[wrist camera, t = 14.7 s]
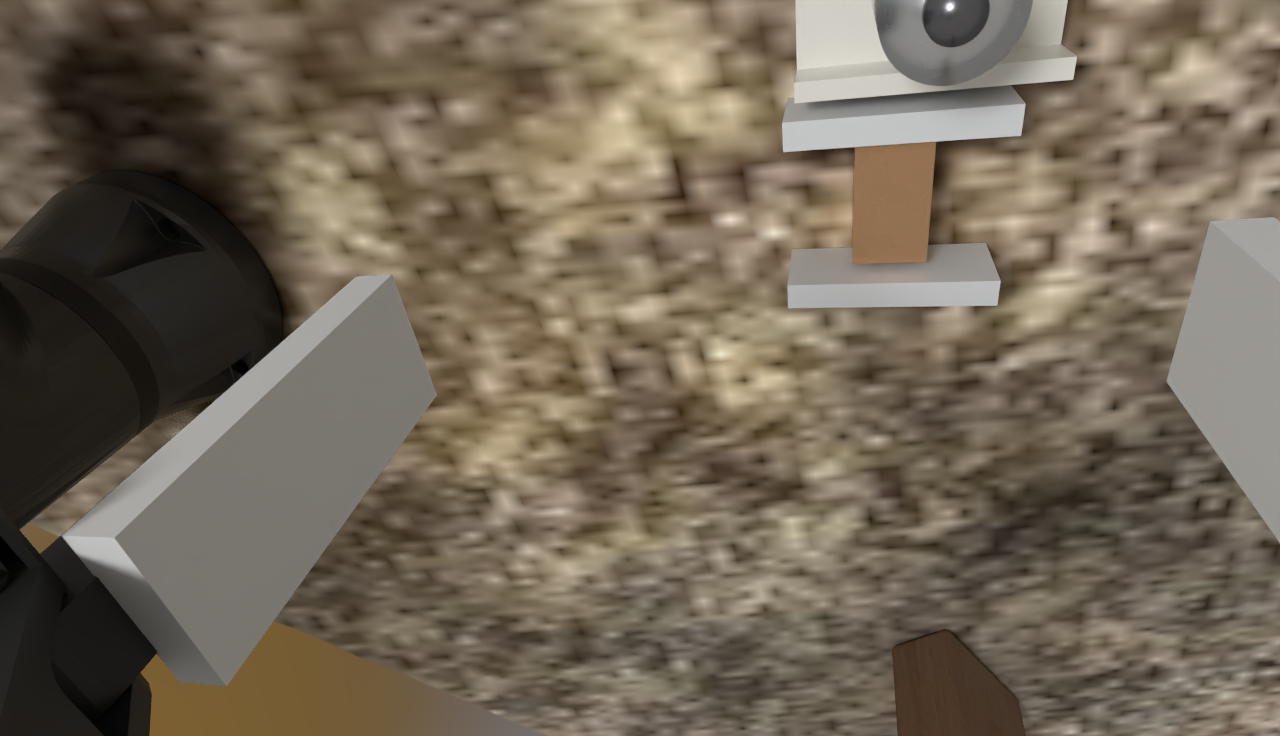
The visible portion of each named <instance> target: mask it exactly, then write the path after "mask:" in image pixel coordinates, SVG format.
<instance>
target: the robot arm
mask: <svg viewBox="0 0 1280 736" xmlns="http://www.w3.org/2000/svg"><path fill="white" fill-rule="evenodd" d="M281 337H282V314H281V309H280V304H279V300H278V297H277V294H276V291H275V288H274V286H273V283H272V281H271V279H270V277H269V275H268V273H267V271H266V269H265V268H264V266H263V264H262V262H261V261H260V259H259V258H258V256H257V255H256V253H255V252H254V250H253V249H252V248H251V246H250V245H249V244H248V243H247V241H246V240H245V239H244V238H243V237H242V235H241V234H240V233H239V232H238V231H237V230H236V229H235V228H234V227H233V226H232V225H231V224H230V223H229V222H228V221H227V220H226V219H225V218H224V217H223V216H222V215H221V214H220V213H218V212H217V211H216V210H215V209H214V208H212V207H211V206H210V205H208V204H207V203H206V202H204V201H203V200H202V199H200V198H199V197H197V196H195V195H194V194H192V193H191V192H189V191H187V190H186V189H184V188H182V187H180V186H178V185H176V184H174V183H172V182H169V181H167V180H165V179H162V178H159V177H157V176H153V175H150V174H146V173H142V172H136V171H126V170H117V171H108V172H104V173H100V174H98V175H95V176H93V177H90V178H88V179H85V180H83V181H80V182H78V183H75V184H73V185H70V186H68V187H67V188H65V189H63V190H62V191H60V192H59V193H57V194H56V195H54V196H53V197H52V198H51V199H50V200H49V201H48V202H47V203H46V204H45V205H44V206H43V207H42V208H41V209H40V210H39V211H38V212H37V213H36V214H35V215H34V216H33V217H32V218H31V219H30V220H29V221H28V222H27V224H26V225H25V226H24V227H23V228H22V229H21V230H20V231H19V232H18V233H17V234H16V235H15V236H14V237H13V238H12V239H11V240H10V241H9V242H8V243H7V244H6V245H5V246H4V247H3V248H2V249H1V250H0V736H149V731H150V714H151V697H152V695H151V690H150V687H149V683H148V682H147V681H146V679H145V678H144V677H143V676H142V674H141V673H140V672H141V671H142V670H143V669H144V668H145V666H146V665H147V664H148V663H149V662H150V660H151V659H152V658H153V657H154V656H155V655H156V653H157V655H158V656H159V657H160V658H161V660H162V661H163V662H164V663H165V665H166V666H167V667H168V668H169V669H170V671H171V672H172V673H173V674H174V676H175V677H176V678H177V679H178V681H179V682H188V683H199V684H208V685H218V686H227V685H228V683H229V682H230V681H231V679H232V678H233V676H234V675H235V674H236V672H237V671H238V670H239V668H240V667H241V665H242V664H243V663H244V661H245V660H246V658H247V657H248V656H249V654H250V653H251V652H252V650H253V649H254V647H255V646H256V645H257V643H258V642H259V641H260V639H261V638H262V636H263V635H264V634H265V632H266V631H267V629H268V628H269V627H270V625H271V624H272V623H273V621H274V620H275V618H276V617H277V616H278V614H279V613H280V611H281V610H282V609H283V607H284V606H285V605H286V603H287V602H288V600H289V599H290V598H291V596H292V595H293V593H294V592H295V591H296V589H297V588H298V587H299V585H300V584H301V582H302V581H303V580H304V578H305V577H306V576H307V574H308V573H309V571H310V570H311V569H312V567H313V566H314V564H315V563H316V562H317V560H318V559H319V558H320V556H321V555H322V553H323V552H324V551H325V549H326V548H327V546H328V545H329V544H330V542H331V541H332V540H333V538H334V537H335V535H336V534H337V533H338V531H339V530H340V528H341V527H342V526H343V524H344V523H345V522H346V520H347V519H348V517H349V516H350V515H351V513H352V512H353V510H354V509H355V508H356V506H357V505H358V504H359V502H360V501H361V499H362V498H363V497H364V495H365V494H366V492H367V491H368V490H369V488H370V487H371V486H372V484H373V483H374V481H375V480H376V479H377V477H378V476H379V474H380V473H381V472H382V470H383V469H384V468H385V466H386V465H387V463H388V462H389V461H390V459H391V458H392V456H393V455H394V454H395V452H396V451H397V450H398V448H399V447H400V445H401V444H402V443H403V441H404V440H405V438H406V437H407V436H408V434H409V433H410V432H411V430H412V429H413V427H414V426H415V425H416V423H417V422H418V420H419V419H420V418H421V416H422V415H423V414H424V412H425V411H426V409H427V408H428V407H429V405H430V404H431V402H432V401H433V400H434V398H435V397H436V396H437V394H436V391H435V389H434V386H433V383H432V380H431V378H430V375H429V372H428V370H427V367H426V364H425V362H424V359H423V356H422V354H421V351H420V348H419V346H418V343H417V340H416V337H415V335H414V332H413V329H412V327H411V324H410V321H409V319H408V316H407V313H406V311H405V308H404V305H403V303H402V300H401V297H400V295H399V292H398V289H397V286H396V284H395V281H394V278H393V276H392V274H390V275H374V276H359V277H355V278H354V279H353V280H352V281H351V282H350V283H348V284H347V285H346V286H345V287H344V288H343V289H342V290H340V291H339V292H338V293H337V294H336V295H335V296H334V297H332V298H331V299H330V300H329V301H328V302H327V303H326V304H324V305H323V306H322V307H321V308H320V309H319V310H318V311H317V312H315V313H314V314H313V315H312V316H311V317H310V318H309V319H307V320H306V321H305V322H304V323H303V324H302V325H301V326H299V327H298V328H297V329H296V330H295V331H294V332H293V333H291V334H290V335H289V336H288V337H287V338H286V339H285V340H284V341H282V342H281ZM280 342H281V343H280ZM1167 383H1168V385H1169V386H1170V387H1171V389H1172V390H1173V392H1174V393H1175V395H1176V396H1177V397H1178V399H1179V400H1180V402H1181V403H1182V405H1183V406H1184V407H1185V409H1186V410H1187V412H1188V413H1189V414H1190V416H1191V417H1192V419H1193V420H1194V422H1195V423H1196V424H1197V426H1198V427H1199V429H1200V430H1201V432H1202V433H1203V434H1204V436H1205V437H1206V439H1207V440H1208V442H1209V443H1210V444H1211V446H1212V447H1213V449H1214V450H1215V452H1216V453H1217V454H1218V456H1219V457H1220V459H1221V460H1222V462H1223V463H1224V464H1225V466H1226V467H1227V469H1228V470H1229V471H1230V473H1231V474H1232V476H1233V477H1234V479H1235V480H1236V481H1237V483H1238V484H1239V486H1240V487H1241V489H1242V490H1243V491H1244V493H1245V494H1246V496H1247V497H1248V499H1249V500H1250V501H1251V503H1252V504H1253V506H1254V507H1255V509H1256V510H1257V511H1258V513H1259V514H1260V516H1261V517H1262V518H1263V520H1264V521H1265V523H1266V524H1267V526H1268V527H1269V528H1270V530H1271V531H1272V533H1273V534H1274V536H1275V537H1276V538H1277V540H1278V541H1279V543H1280V221H1279V220H1277V219H1276V218H1275V217H1271V218H1255V219H1240V220H1224V221H1210V225H1209V228H1208V232H1207V236H1206V239H1205V243H1204V247H1203V250H1202V254H1201V257H1200V261H1199V265H1198V268H1197V272H1196V276H1195V279H1194V283H1193V287H1192V290H1191V294H1190V298H1189V301H1188V305H1187V309H1186V312H1185V316H1184V319H1183V323H1182V327H1181V330H1180V334H1179V338H1178V341H1177V345H1176V349H1175V352H1174V356H1173V360H1172V363H1171V367H1170V371H1169V374H1168V378H1167ZM217 397H219V398H218V399H216V400H215V401H214V402H213V403H212V404H211V405H210V406H208V407H207V408H206V409H205V410H204V411H203V412H202V413H200V414H199V415H198V416H197V417H196V418H195V419H194V420H193V421H191V422H190V423H189V424H188V425H187V426H186V427H185V428H183V429H182V430H181V431H180V432H179V433H178V434H177V435H175V436H174V437H173V438H172V439H171V440H169V441H168V442H167V443H166V444H165V445H164V446H163V447H161V448H160V449H159V450H158V451H157V452H156V453H155V454H153V455H152V456H151V457H150V458H149V459H148V460H147V461H146V462H145V463H144V464H142V465H141V466H140V467H139V468H137V469H136V470H135V471H134V472H133V473H132V474H131V475H130V476H128V477H127V478H126V479H125V480H124V481H123V482H122V483H120V484H119V485H118V486H117V487H116V488H115V489H114V490H112V491H111V492H110V493H109V494H108V495H107V496H106V497H104V498H103V499H102V500H101V501H100V502H99V503H98V504H97V505H95V506H94V507H93V508H92V509H91V510H90V511H89V512H87V513H86V514H85V515H84V516H83V517H82V518H81V519H79V520H78V521H77V522H76V523H75V524H74V525H73V526H71V527H70V528H69V529H68V530H67V531H66V532H65V533H64V534H62V535H61V536H60V537H59V538H58V539H57V540H56V541H55V542H53V543H52V544H51V545H50V546H49V547H48V548H47V549H46V550H44V551H43V552H42V553H41V554H39V553H38V551H37V550H36V549H35V548H34V547H33V546H32V545H31V543H30V542H29V541H28V540H27V538H26V537H25V536H24V535H23V534H22V533H21V531H20V529H21V528H22V527H24V526H25V525H26V524H27V523H29V522H30V521H31V520H32V519H34V518H35V517H36V516H37V515H39V514H40V513H41V512H42V511H44V510H45V509H46V508H47V507H48V506H50V505H51V504H52V503H53V502H55V501H56V500H57V499H58V498H60V497H61V496H62V495H63V494H65V493H66V492H67V491H68V490H70V489H71V488H72V487H73V486H74V485H76V484H77V483H78V482H79V481H81V480H82V479H83V478H84V477H86V476H87V475H88V474H89V473H91V472H92V471H93V470H94V469H96V468H97V467H98V466H99V465H100V464H102V463H103V462H104V461H105V460H107V459H108V458H109V457H110V456H112V455H113V454H114V453H115V452H117V451H118V450H119V449H120V448H122V447H123V446H124V445H125V444H127V443H128V442H129V441H130V440H131V439H132V438H134V437H135V436H136V435H137V434H139V433H140V432H141V431H142V430H144V429H145V428H146V427H148V426H149V425H150V424H152V423H153V422H154V421H156V420H157V419H160V418H163V417H165V416H168V415H171V414H174V413H176V412H179V411H182V410H184V409H187V408H190V407H193V406H195V405H198V404H201V403H203V402H206V401H209V400H212V399H214V398H217Z"/></svg>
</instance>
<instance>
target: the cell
mask: <svg viewBox="0 0 1280 736" xmlns="http://www.w3.org/2000/svg"><path fill="white" fill-rule="evenodd" d="M1032 4H1033V0H871V5H872V9H873V13H874V18H875V22H876V26H877V31H878V35H879V39H880V43H881V46H882V48H883V51H884V53H885V55H886V56H887V58H888V60H889V61H890V62H891V64H892V65H893V66H894V67H895V68H896V69H897V70H898V71H899V72H900V73H901V74H903V75H904V76H906V77H908V78H909V79H911V80H914V81H916V82H919V83H922V84H925V85H932V86H949V85H956V84H960V83H964V82H966V81H969V80H972V79H974V78H976V77H978V76H980V75H982V74H984V73H985V72H987V71H989V70H990V69H992V68H993V67H994V66H995V65H997V64H998V63H999V62H1000V61H1001V60H1002V59H1003V58H1004V57H1005V56H1006V55H1007V54H1008V53H1009V52H1010V51H1011V50H1012V48H1013V47H1014V46H1015V44H1016V43H1017V41H1018V40H1019V38H1020V37H1021V35H1022V33H1023V31H1024V29H1025V27H1026V25H1027V22H1028V19H1029V16H1030V13H1031V9H1032Z"/></svg>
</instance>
